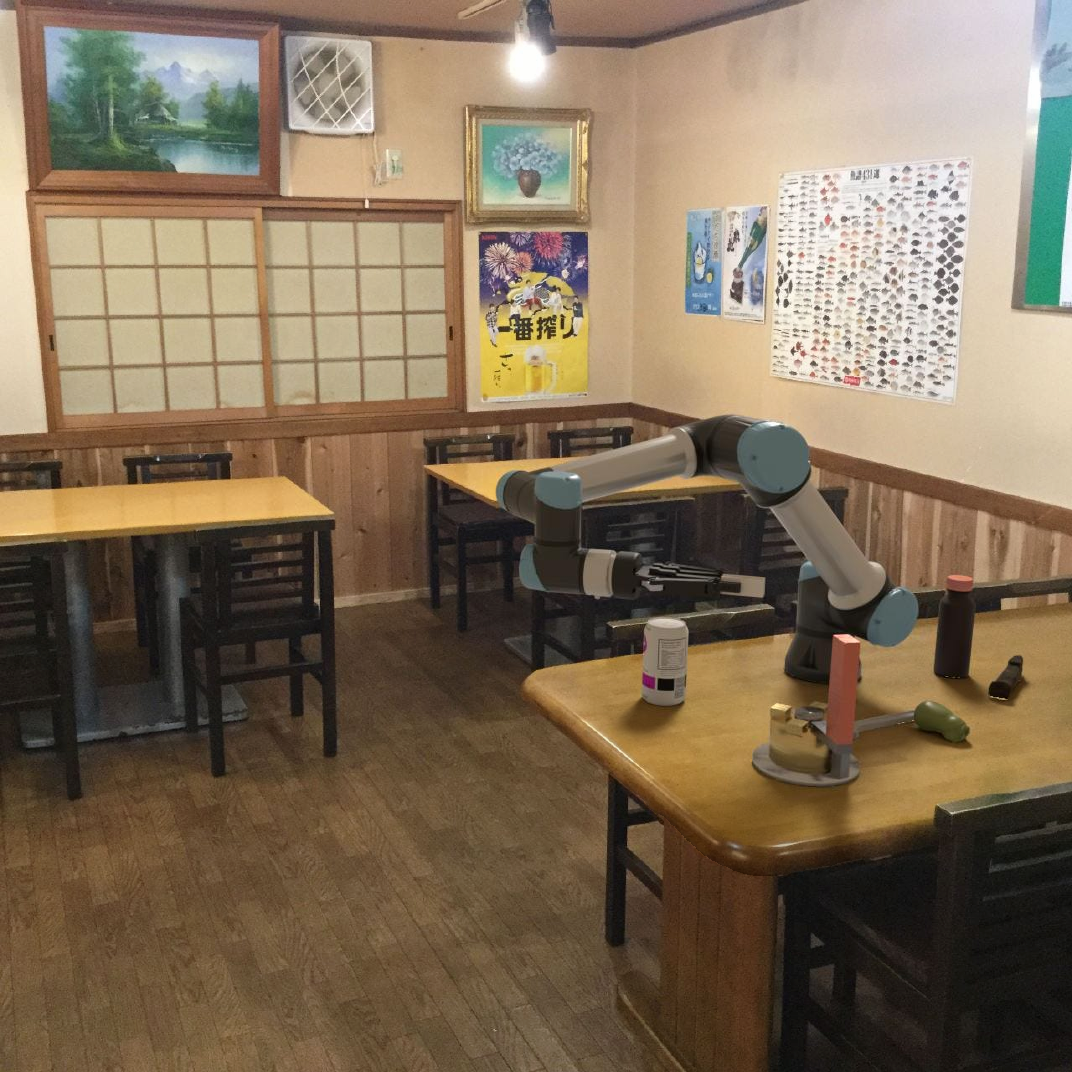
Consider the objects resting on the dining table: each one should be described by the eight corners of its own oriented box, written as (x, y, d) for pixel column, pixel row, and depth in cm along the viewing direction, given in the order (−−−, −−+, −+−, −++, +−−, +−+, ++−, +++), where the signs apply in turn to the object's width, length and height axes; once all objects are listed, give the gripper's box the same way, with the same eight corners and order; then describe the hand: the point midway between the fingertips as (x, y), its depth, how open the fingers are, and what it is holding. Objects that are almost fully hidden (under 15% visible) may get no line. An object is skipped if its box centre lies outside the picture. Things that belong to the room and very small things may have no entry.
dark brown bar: (1009, 703, 222) (1011, 680, 221) (987, 699, 224) (989, 675, 223) (1032, 677, 237) (1035, 655, 236) (1011, 673, 239) (1014, 651, 238)
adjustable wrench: (921, 715, 216) (922, 706, 215) (946, 727, 210) (947, 718, 210) (808, 731, 206) (809, 722, 206) (831, 745, 200) (831, 735, 200)
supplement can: (634, 702, 218) (637, 624, 215) (651, 689, 225) (654, 614, 222) (675, 710, 215) (679, 631, 211) (691, 696, 222) (695, 620, 219)
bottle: (975, 675, 237) (985, 579, 233) (954, 681, 233) (964, 583, 229) (947, 666, 242) (956, 572, 238) (926, 671, 239) (935, 576, 234)
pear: (929, 693, 210) (979, 718, 202) (922, 719, 211) (971, 745, 204) (911, 699, 206) (961, 725, 199) (904, 726, 208) (954, 752, 201)
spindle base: (835, 743, 200) (839, 690, 198) (876, 784, 184) (881, 727, 182) (739, 746, 198) (742, 693, 196) (771, 789, 182) (775, 731, 180)
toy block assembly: (757, 745, 195) (765, 609, 190) (824, 741, 198) (834, 606, 193) (804, 793, 177) (814, 644, 172) (877, 788, 179) (890, 641, 174)
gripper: (625, 586, 195) (768, 599, 188) (603, 607, 182) (756, 622, 175) (626, 542, 193) (770, 554, 186) (604, 561, 181) (759, 574, 173)
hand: (763, 587), depth 181 cm, fingers closed
